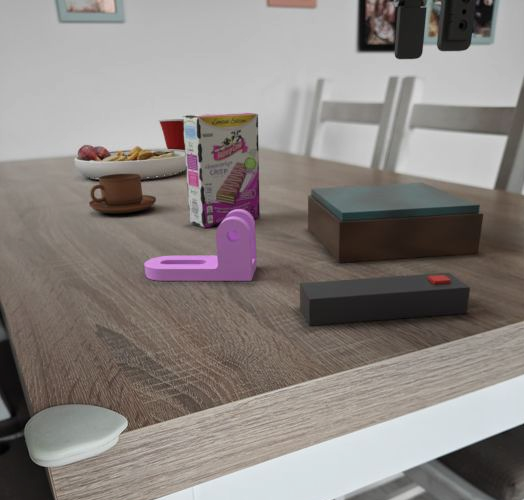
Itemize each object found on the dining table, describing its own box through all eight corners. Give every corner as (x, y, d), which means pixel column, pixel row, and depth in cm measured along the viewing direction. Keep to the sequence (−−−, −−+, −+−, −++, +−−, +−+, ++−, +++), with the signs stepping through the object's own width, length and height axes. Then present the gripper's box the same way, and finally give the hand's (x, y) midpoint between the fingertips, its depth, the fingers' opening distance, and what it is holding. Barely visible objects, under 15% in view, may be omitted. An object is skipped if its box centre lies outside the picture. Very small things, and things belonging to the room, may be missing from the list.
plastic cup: (198, 155, 186) (195, 117, 181) (191, 159, 177) (188, 118, 171) (166, 156, 187) (163, 118, 182) (158, 160, 178) (154, 119, 173)
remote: (299, 308, 54) (299, 279, 53) (446, 297, 56) (449, 269, 54) (309, 326, 50) (309, 295, 49) (466, 313, 52) (471, 284, 50)
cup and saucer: (130, 219, 95) (125, 182, 92) (76, 215, 99) (70, 180, 97) (169, 206, 105) (166, 172, 102) (118, 203, 109) (114, 171, 107)
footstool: (420, 221, 87) (424, 182, 84) (478, 253, 69) (484, 205, 67) (307, 228, 85) (308, 188, 82) (338, 262, 68) (339, 213, 65)
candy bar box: (205, 229, 86) (196, 115, 79) (189, 224, 90) (179, 115, 83) (262, 218, 92) (259, 111, 85) (245, 214, 96) (241, 111, 89)
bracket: (256, 266, 67) (254, 208, 64) (251, 280, 62) (248, 219, 59) (153, 266, 69) (146, 210, 66) (139, 280, 64) (131, 220, 61)
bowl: (194, 165, 162) (192, 136, 158) (188, 180, 135) (185, 146, 131) (91, 169, 161) (86, 140, 157) (64, 185, 133) (58, 151, 130)
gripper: (579, -291, 30) (525, 47, 37) (459, -175, 43) (435, 60, 50) (448, -300, 29) (417, 48, 36) (366, -179, 42) (355, 61, 49)
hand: (428, 55), depth 43 cm, fingers open, 8 cm apart
